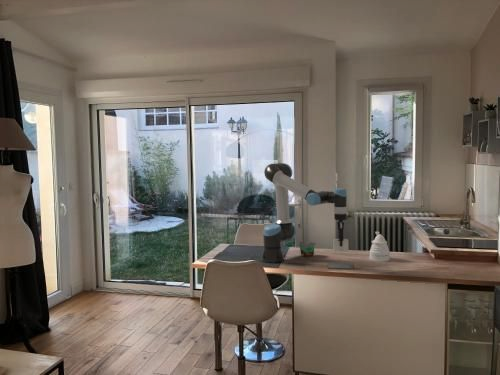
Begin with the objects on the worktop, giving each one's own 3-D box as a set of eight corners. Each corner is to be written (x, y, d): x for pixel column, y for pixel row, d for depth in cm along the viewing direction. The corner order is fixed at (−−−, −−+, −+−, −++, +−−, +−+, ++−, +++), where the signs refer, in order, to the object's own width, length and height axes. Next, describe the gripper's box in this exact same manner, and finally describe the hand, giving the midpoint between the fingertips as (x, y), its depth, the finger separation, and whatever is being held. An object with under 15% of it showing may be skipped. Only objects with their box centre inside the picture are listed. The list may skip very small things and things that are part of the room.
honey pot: (365, 258, 283) (365, 232, 282) (377, 255, 290) (377, 230, 289) (381, 262, 272) (382, 234, 271) (393, 259, 280) (393, 232, 279)
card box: (348, 251, 260) (348, 240, 260) (333, 251, 261) (333, 240, 261) (347, 249, 265) (347, 238, 264) (333, 249, 266) (333, 238, 266)
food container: (303, 258, 287) (303, 243, 286) (298, 256, 292) (298, 241, 292) (318, 256, 291) (318, 242, 290) (314, 254, 297) (314, 240, 296)
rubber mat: (328, 268, 259) (328, 267, 259) (327, 263, 272) (327, 262, 272) (353, 269, 256) (353, 268, 256) (351, 263, 269) (351, 262, 269)
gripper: (347, 215, 252) (348, 253, 254) (345, 211, 270) (345, 247, 271) (335, 215, 253) (335, 253, 255) (333, 211, 271) (334, 247, 273)
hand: (340, 250), depth 263 cm, fingers closed on card box, 5 cm apart
